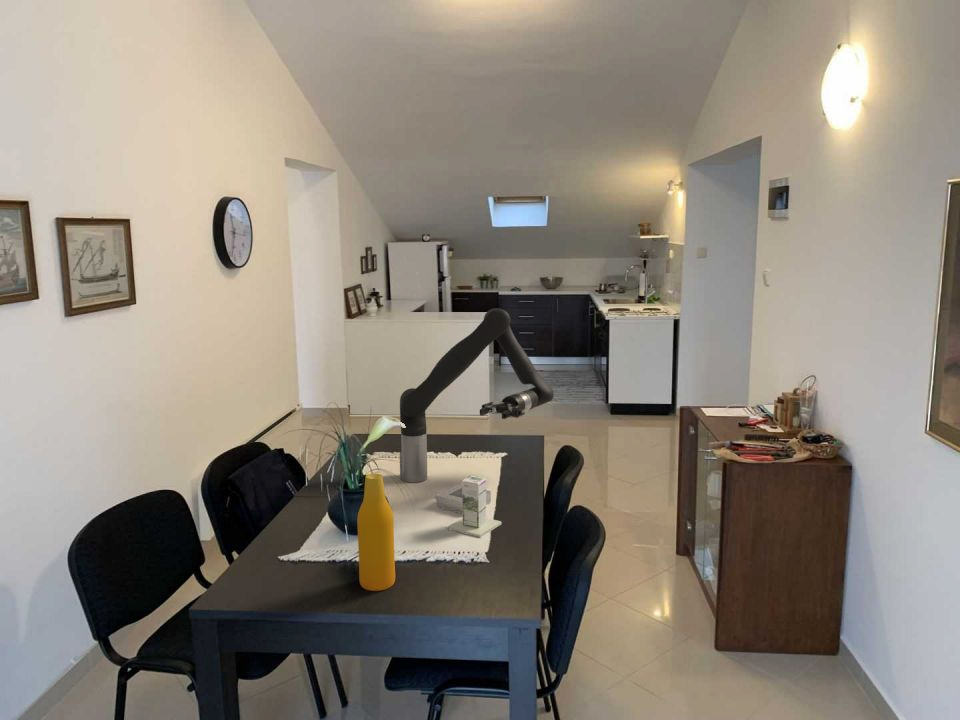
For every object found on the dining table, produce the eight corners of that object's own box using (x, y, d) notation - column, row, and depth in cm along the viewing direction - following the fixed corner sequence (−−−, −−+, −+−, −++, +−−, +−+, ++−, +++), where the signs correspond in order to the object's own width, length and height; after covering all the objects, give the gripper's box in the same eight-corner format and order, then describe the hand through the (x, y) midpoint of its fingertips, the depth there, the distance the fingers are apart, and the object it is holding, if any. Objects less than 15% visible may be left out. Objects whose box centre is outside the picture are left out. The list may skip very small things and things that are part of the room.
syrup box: (487, 521, 227) (486, 477, 224) (478, 528, 222) (478, 483, 219) (470, 518, 229) (470, 474, 227) (461, 525, 224) (461, 480, 221)
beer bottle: (356, 592, 185) (352, 482, 180) (362, 575, 194) (358, 470, 189) (393, 591, 185) (390, 482, 180) (397, 574, 194) (394, 470, 189)
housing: (436, 507, 241) (436, 495, 240) (458, 495, 252) (458, 484, 251) (469, 515, 234) (468, 503, 233) (490, 502, 245) (490, 491, 244)
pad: (447, 528, 224) (447, 526, 223) (469, 516, 233) (469, 513, 233) (480, 537, 217) (480, 535, 217) (501, 524, 227) (501, 521, 227)
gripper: (499, 391, 258) (473, 400, 244) (534, 396, 250) (510, 405, 237) (499, 412, 259) (473, 422, 246) (534, 417, 251) (510, 428, 238)
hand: (491, 414), depth 241 cm, fingers open, 8 cm apart
